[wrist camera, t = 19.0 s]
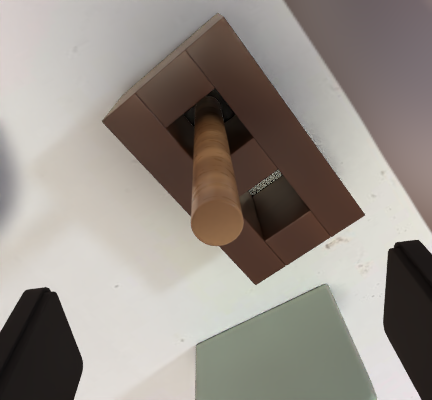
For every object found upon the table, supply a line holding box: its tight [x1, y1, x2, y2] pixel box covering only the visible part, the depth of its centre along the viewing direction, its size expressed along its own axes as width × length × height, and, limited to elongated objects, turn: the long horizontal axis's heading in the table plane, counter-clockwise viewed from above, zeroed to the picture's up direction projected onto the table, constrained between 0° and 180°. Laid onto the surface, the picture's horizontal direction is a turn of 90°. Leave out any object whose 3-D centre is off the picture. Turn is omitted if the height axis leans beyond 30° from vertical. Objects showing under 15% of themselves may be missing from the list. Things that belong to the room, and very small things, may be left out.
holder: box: [102, 13, 365, 285], centre depth 33 cm, size 10×17×8 cm, turn 38°
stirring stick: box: [191, 96, 244, 246], centre depth 26 cm, size 2×2×20 cm
